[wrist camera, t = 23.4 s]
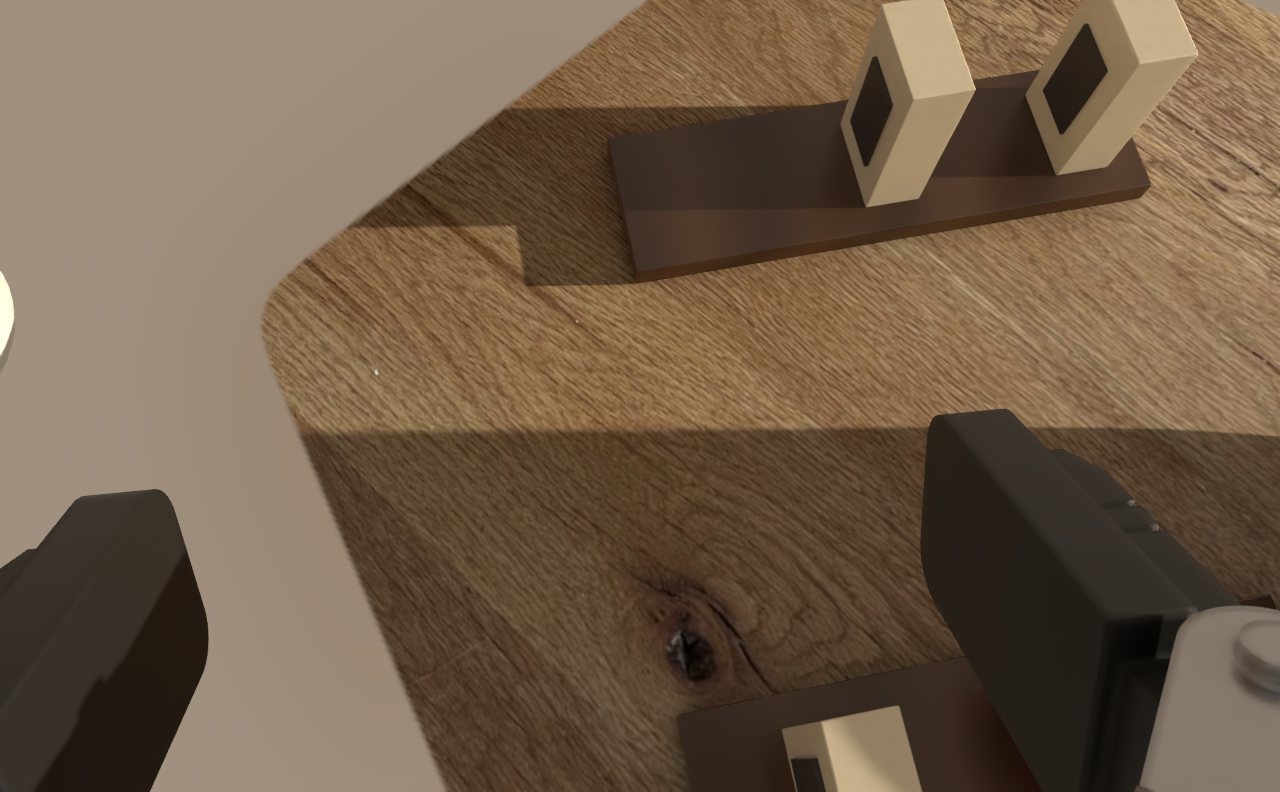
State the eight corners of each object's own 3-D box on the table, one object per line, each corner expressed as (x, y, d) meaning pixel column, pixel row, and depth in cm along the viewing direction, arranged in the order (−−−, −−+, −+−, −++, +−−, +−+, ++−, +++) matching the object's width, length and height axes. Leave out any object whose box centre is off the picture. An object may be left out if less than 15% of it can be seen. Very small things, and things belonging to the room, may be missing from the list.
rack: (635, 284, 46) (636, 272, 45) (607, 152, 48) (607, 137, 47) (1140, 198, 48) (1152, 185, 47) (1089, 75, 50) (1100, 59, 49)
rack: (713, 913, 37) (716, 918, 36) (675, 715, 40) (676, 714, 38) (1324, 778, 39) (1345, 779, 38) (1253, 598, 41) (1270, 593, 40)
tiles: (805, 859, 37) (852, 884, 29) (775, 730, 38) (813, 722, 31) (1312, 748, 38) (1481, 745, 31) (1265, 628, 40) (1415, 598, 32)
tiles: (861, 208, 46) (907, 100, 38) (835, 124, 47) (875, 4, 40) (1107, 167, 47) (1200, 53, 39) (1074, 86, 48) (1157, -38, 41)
